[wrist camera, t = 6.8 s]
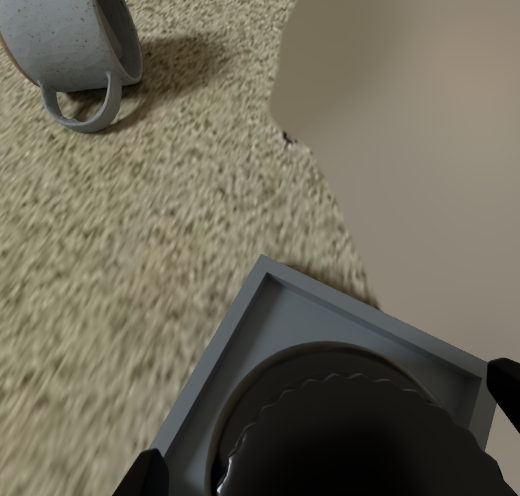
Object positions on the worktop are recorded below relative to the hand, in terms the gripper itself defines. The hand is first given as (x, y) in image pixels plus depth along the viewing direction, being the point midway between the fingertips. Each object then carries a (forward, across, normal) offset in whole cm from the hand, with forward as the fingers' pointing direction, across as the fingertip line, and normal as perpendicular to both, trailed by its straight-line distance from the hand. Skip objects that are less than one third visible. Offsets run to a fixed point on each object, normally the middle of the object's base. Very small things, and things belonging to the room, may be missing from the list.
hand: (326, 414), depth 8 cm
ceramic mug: (+26, +10, -13) cm, 31 cm away
